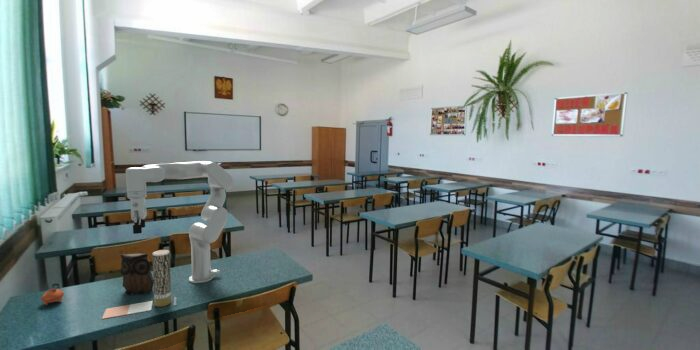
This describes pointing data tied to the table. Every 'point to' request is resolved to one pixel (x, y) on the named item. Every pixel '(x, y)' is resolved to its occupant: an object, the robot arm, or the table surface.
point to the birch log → (161, 277)
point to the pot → (52, 296)
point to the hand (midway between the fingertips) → (139, 230)
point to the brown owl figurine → (136, 274)
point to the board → (129, 309)
